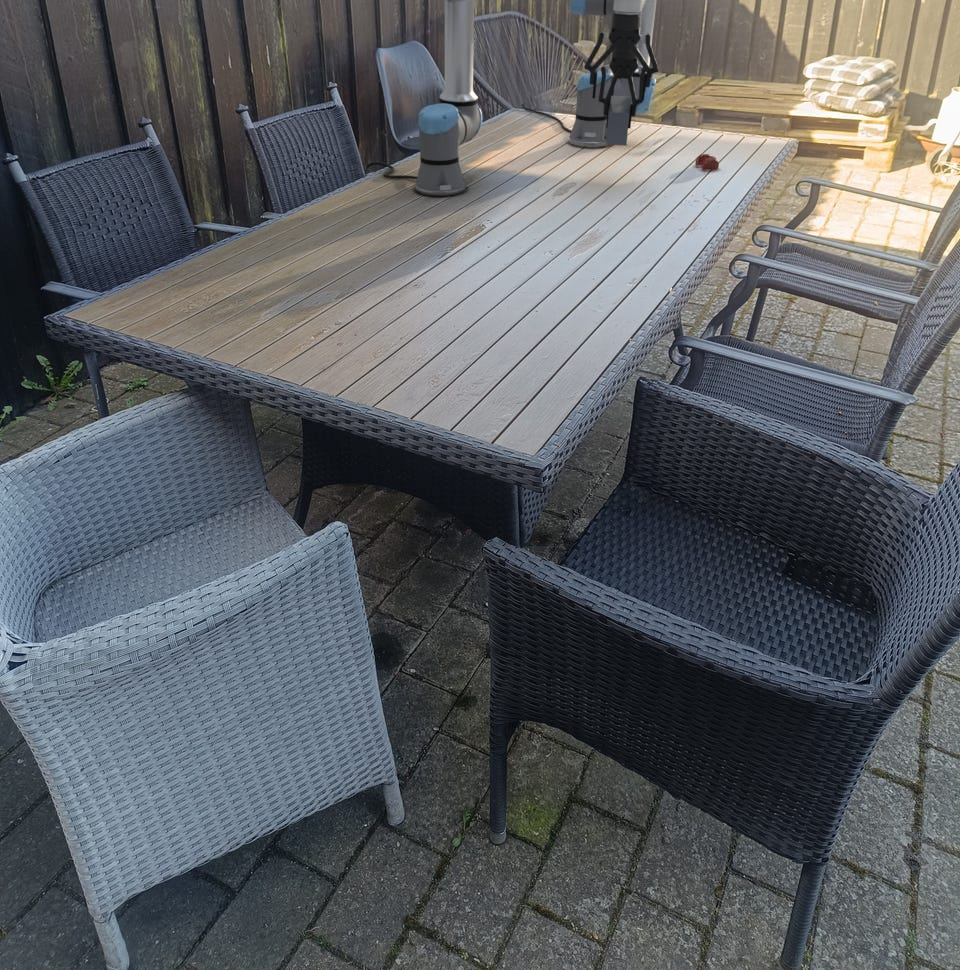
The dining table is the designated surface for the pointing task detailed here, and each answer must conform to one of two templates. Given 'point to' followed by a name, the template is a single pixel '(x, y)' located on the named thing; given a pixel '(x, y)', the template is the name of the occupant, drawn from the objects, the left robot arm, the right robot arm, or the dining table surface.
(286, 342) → the dining table surface
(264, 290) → the dining table surface
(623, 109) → the bar
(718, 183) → the dining table surface
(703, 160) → the dental model
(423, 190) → the left robot arm
